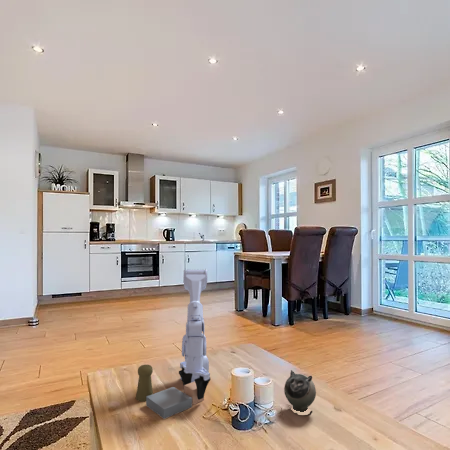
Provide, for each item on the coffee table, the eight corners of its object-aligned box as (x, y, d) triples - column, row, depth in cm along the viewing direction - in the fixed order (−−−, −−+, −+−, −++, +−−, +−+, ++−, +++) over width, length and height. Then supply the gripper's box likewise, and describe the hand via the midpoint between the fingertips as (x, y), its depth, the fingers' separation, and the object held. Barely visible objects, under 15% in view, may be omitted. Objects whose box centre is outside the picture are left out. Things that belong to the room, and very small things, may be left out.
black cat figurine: (282, 415, 105) (315, 421, 101) (281, 377, 105) (314, 381, 102) (286, 401, 114) (317, 405, 111) (286, 366, 115) (316, 369, 111)
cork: (148, 402, 111) (149, 369, 112) (132, 400, 113) (133, 368, 113) (155, 394, 117) (156, 363, 118) (140, 392, 118) (141, 361, 119)
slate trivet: (173, 395, 117) (173, 386, 117) (191, 406, 109) (192, 397, 109) (146, 405, 109) (146, 396, 109) (163, 419, 101) (164, 409, 101)
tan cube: (194, 395, 117) (195, 381, 117) (203, 400, 114) (204, 385, 114) (183, 399, 114) (184, 385, 114) (192, 405, 110) (192, 390, 110)
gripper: (173, 352, 117) (172, 390, 116) (198, 363, 106) (197, 406, 106) (189, 348, 122) (188, 384, 121) (214, 358, 111) (214, 399, 111)
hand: (193, 394), depth 114 cm, fingers open, 7 cm apart
